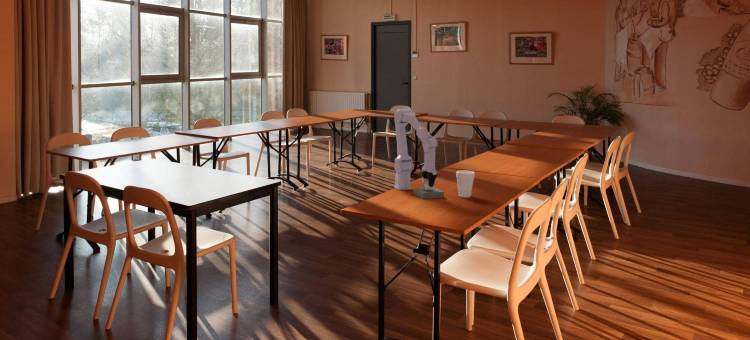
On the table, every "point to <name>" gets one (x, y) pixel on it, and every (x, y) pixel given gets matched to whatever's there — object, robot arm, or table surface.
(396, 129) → the robot arm
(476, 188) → the table surface
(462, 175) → the foam cup
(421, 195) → the charcoal plinth
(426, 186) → the cream cube
